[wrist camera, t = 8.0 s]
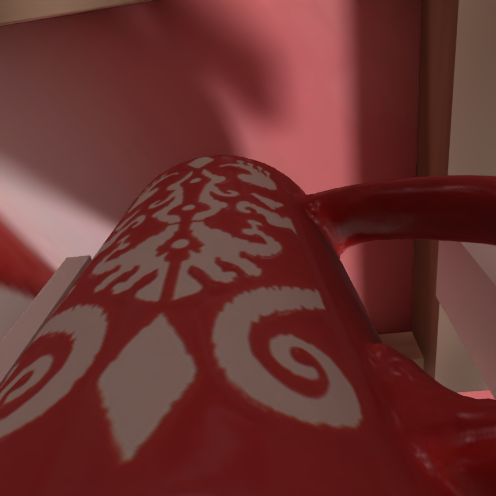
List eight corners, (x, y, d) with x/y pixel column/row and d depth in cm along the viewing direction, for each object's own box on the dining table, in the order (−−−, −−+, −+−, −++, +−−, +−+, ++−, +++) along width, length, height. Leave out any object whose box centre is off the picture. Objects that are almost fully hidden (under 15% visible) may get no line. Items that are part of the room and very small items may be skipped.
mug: (202, 381, 20) (146, 942, 8) (45, 226, 16) (-474, 809, 4) (476, 226, 17) (1075, 767, 5) (355, -6, 13) (1450, -162, 1)
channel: (63, 372, 25) (34, 424, 22) (-90, 18, 17) (-168, 21, 14) (462, 338, 23) (493, 389, 20) (502, -81, 15) (563, -103, 12)
